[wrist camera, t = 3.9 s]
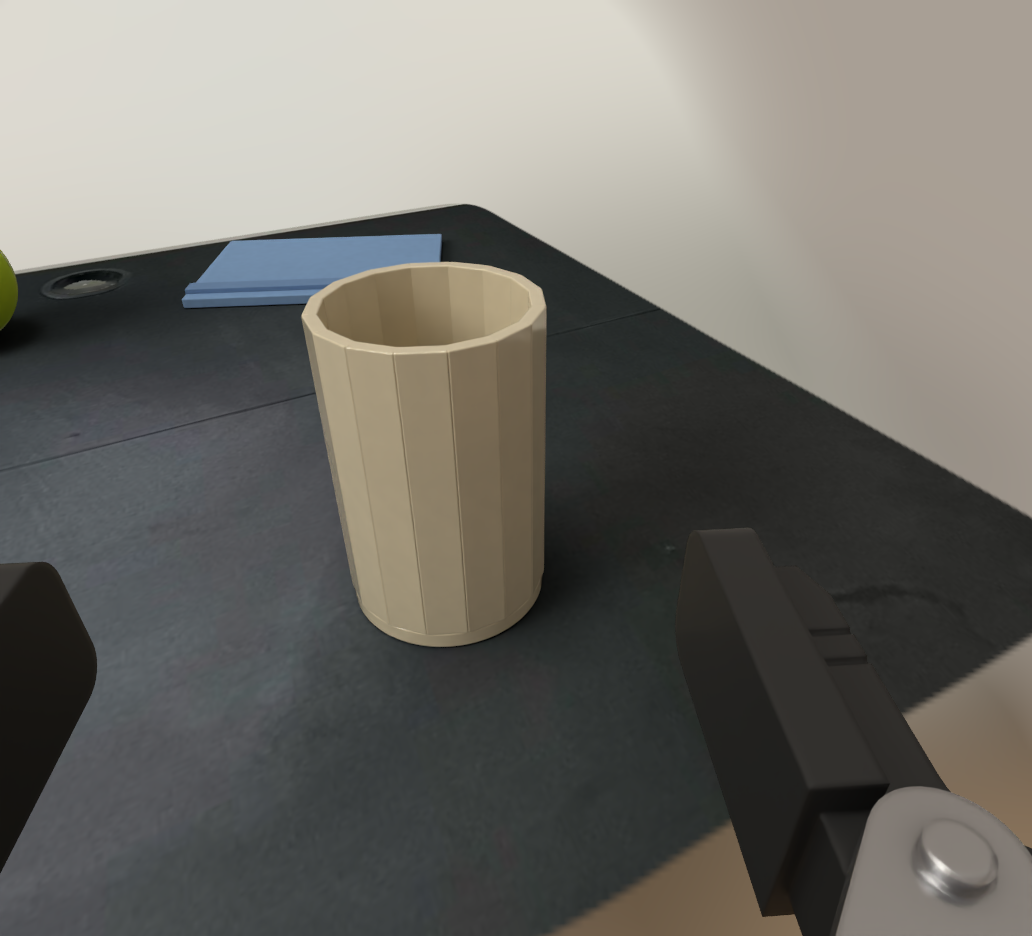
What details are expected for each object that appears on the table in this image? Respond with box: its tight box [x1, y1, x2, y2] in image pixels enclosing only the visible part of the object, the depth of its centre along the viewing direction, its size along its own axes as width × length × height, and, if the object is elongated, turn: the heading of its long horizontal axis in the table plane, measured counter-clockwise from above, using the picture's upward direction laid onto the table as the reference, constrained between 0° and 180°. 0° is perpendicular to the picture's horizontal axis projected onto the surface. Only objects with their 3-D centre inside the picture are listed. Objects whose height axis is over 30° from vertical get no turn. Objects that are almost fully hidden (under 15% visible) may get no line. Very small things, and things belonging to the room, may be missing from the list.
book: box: [182, 234, 442, 308], centre depth 51 cm, size 16×12×1 cm
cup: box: [302, 262, 546, 647], centre depth 22 cm, size 6×6×10 cm
